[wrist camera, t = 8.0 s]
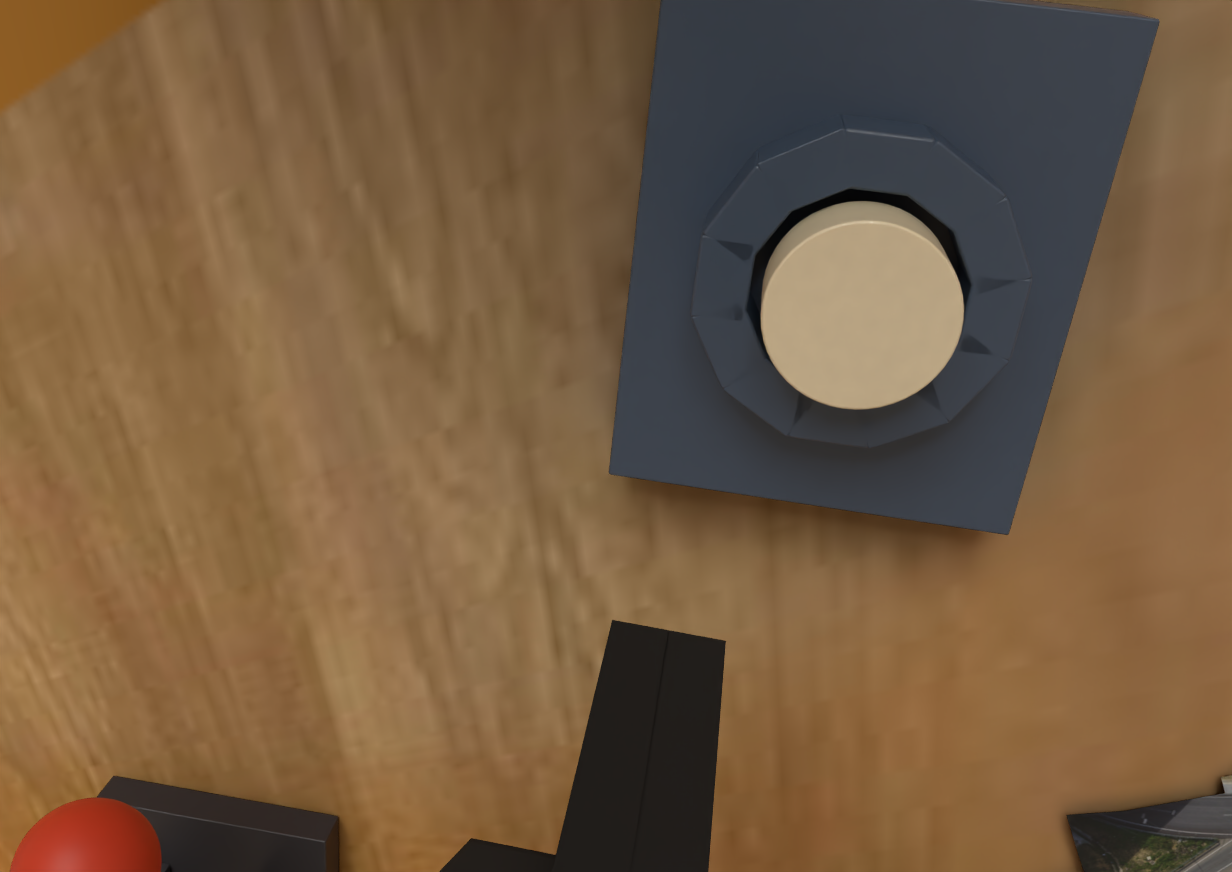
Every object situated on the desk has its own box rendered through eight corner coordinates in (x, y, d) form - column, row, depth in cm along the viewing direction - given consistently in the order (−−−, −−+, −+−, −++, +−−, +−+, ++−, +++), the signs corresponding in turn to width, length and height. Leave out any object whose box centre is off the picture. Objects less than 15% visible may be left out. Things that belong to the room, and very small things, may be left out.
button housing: (673, -41, 25) (655, -35, 21) (1130, 11, 24) (1191, 26, 20) (619, 438, 30) (597, 508, 26) (993, 494, 29) (1023, 574, 26)
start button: (777, 188, 23) (777, 207, 21) (972, 213, 23) (986, 235, 21) (749, 365, 25) (746, 395, 23) (928, 391, 24) (938, 423, 23)
